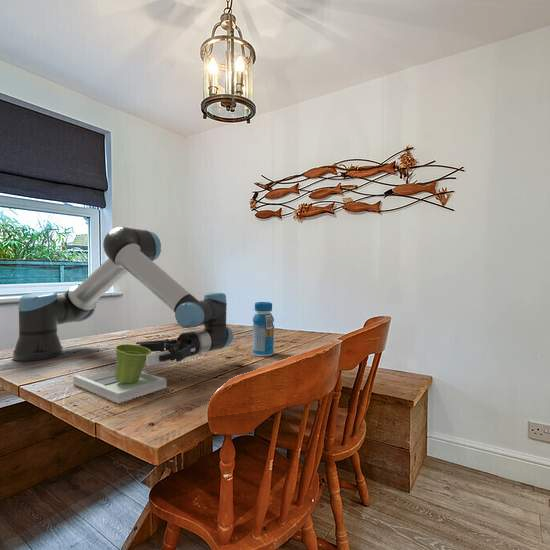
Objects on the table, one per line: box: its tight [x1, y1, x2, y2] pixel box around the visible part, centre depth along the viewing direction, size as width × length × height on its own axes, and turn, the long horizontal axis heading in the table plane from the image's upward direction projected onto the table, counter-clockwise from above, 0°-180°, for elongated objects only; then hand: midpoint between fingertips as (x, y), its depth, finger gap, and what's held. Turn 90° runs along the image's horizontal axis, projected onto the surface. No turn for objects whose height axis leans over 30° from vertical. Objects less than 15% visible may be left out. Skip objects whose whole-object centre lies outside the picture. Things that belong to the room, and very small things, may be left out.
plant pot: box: [114, 343, 152, 383], centre depth 95 cm, size 9×9×9 cm
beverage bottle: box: [252, 301, 275, 357], centre depth 132 cm, size 8×8×20 cm
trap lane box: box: [72, 369, 167, 404], centre depth 95 cm, size 23×14×2 cm, turn 54°
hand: (132, 356), depth 93 cm, fingers open, 13 cm apart
